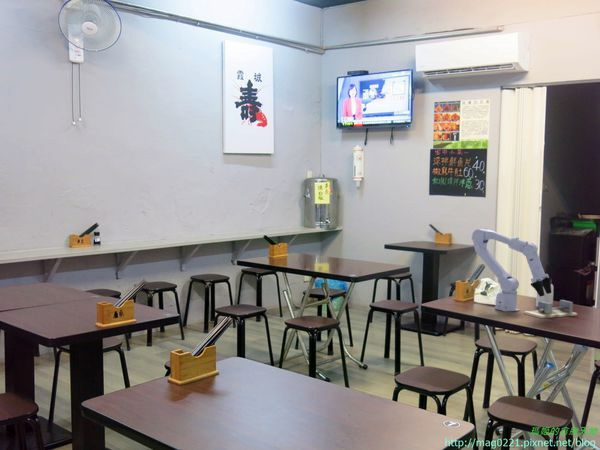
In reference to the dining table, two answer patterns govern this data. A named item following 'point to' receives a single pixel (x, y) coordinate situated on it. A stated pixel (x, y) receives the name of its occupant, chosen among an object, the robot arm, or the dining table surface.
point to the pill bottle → (545, 296)
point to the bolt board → (555, 311)
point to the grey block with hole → (545, 307)
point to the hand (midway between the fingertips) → (545, 294)
